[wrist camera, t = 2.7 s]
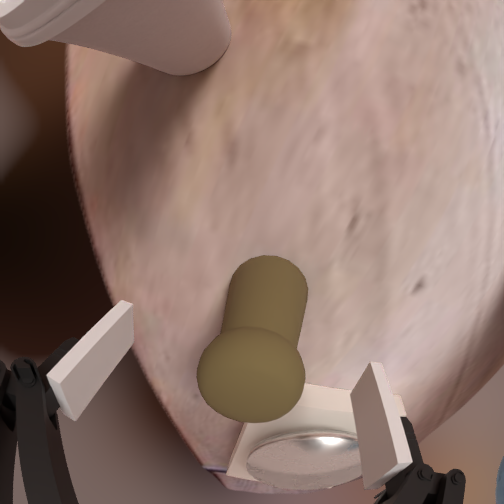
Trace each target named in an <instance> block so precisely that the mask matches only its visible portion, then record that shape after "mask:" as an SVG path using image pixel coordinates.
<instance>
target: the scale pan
mask: <svg viewBox="0 0 504 504" xmlns="http://www.w3.org/2000/svg"><path fill="white" fill-rule="evenodd" d="M246 469H247V471H248V473H249V474H250V475H251V476H252V477H254V478H255V479H256V480H258V481H260V482H262V483H265V484H267V485H270V486H274V487H278V488H283V489H291V490H314V489H323V488H328V487H333V486H337V485H340V484H343V483H346V482H349V481H351V480H353V479H355V478H357V477H359V476H361V475H362V468H361V460H360V453H359V446H358V439H357V434H356V433H353V432H348V431H342V430H331V429H315V430H302V431H294V432H288V433H284V434H279V435H276V436H272V437H270V438H267V439H265V440H262V441H260V442H259V443H257V444H256V445H254V446H253V447H252V448H251V449H250V451H249V453H248V457H247V462H246Z"/></svg>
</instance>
